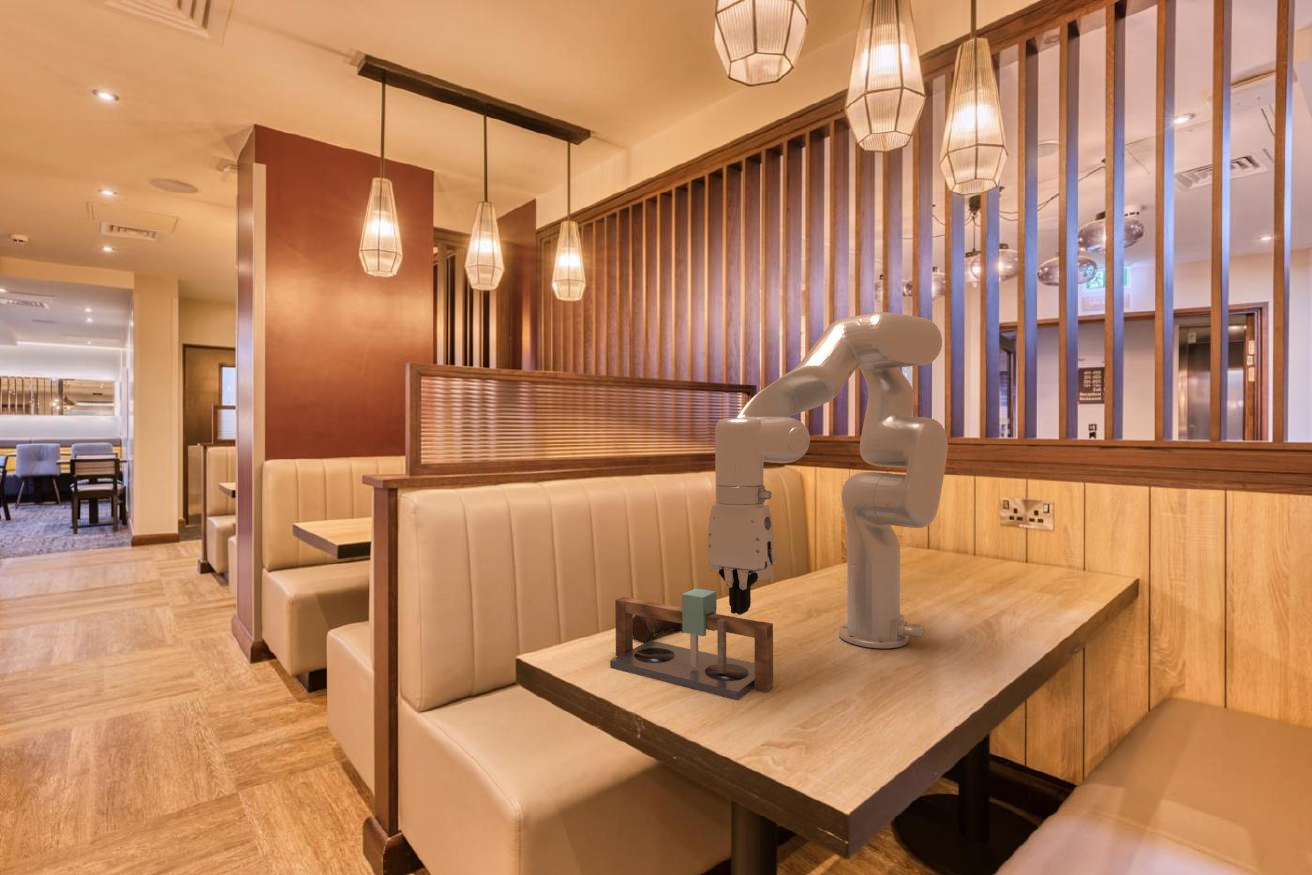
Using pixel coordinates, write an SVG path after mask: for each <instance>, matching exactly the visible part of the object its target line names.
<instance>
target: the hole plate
mask: <svg viewBox="0 0 1312 875" xmlns="http://www.w3.org/2000/svg"><path fill="white" fill-rule="evenodd" d="M609 665H610V666H609V667H610V668H612V669H616V670H620V671H624V672H627V673H630V674H635V675H640V676H643V677H647V678H650V679H655V680H658V681H663V682H667V683H671V684H675V685H679V686H682V687H685V688H691V689H694V690H697V691H701V692H706V693H710V694H713V695H716V696H721V697H724V698H729V699H732V700H736V701H738V700H740V699H741V698H742V697H743V696H745V695H746V694H747V693H748V692H750V691H751V690H752V689H755V662H751V661H747V660H746V661H745V660H742V659H737V658H733V657H728V656H726V672H725V673H724V674H722V673H718V654H714V653H710V652H705V651H702V650H698V666H697V667H692V666H691V664H690V648H687V647H682V646H677V645H672V644H670V643H669V644H668V643H664V642H659V641H655V640H650V641H648V642H646V643H642V644H640V645H638V646H636V647H634V648H633V649H632V650H630V651H628V652H626V653H624V654H622V655H620V656H615V657H614V658H611V659H610V660H609Z"/></svg>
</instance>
